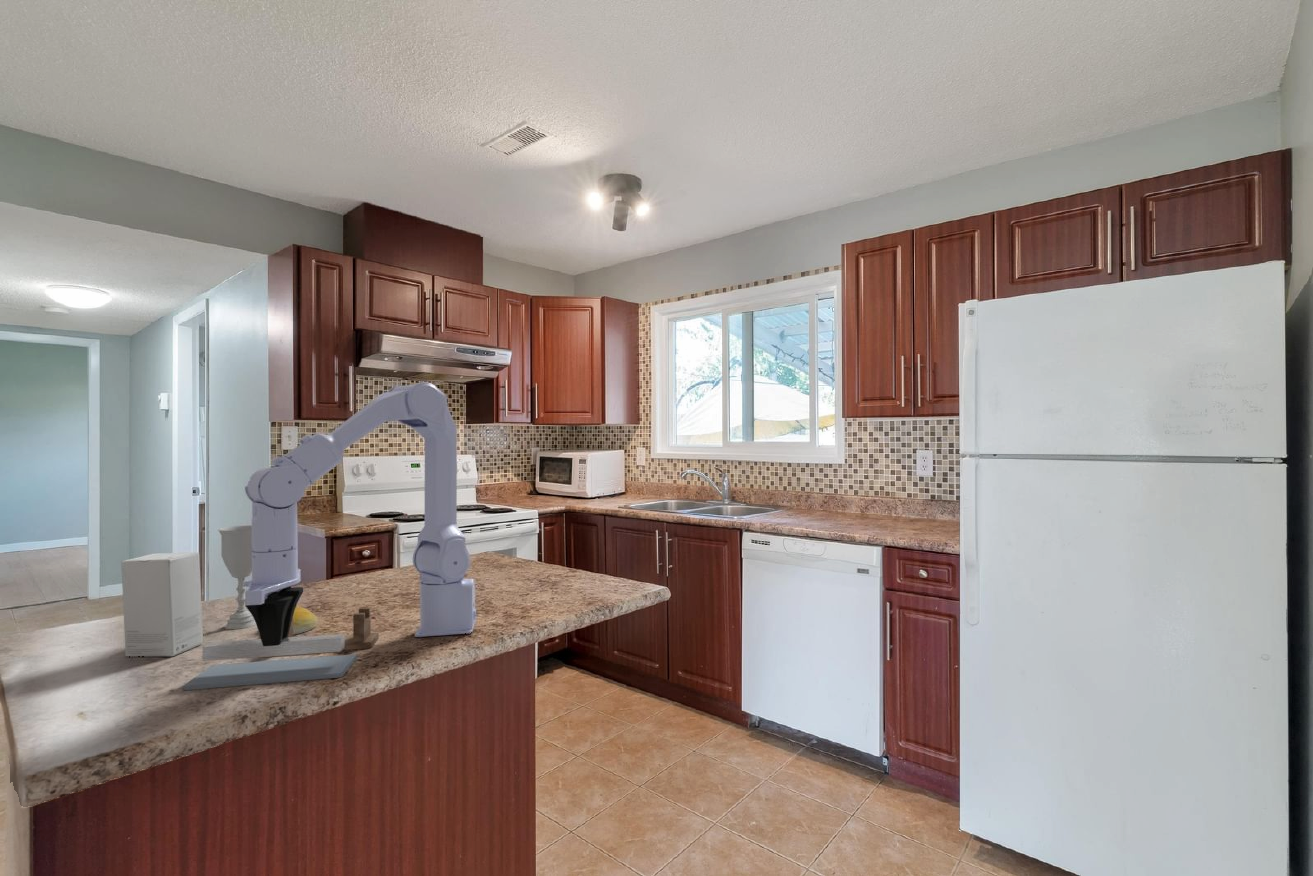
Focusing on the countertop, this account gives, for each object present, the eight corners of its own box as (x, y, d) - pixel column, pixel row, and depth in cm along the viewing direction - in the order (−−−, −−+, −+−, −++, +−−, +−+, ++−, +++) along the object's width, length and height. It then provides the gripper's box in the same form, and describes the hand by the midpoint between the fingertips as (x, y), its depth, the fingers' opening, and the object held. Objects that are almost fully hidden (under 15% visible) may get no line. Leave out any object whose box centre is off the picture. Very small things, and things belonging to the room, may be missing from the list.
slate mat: (357, 658, 95) (357, 654, 95) (341, 677, 87) (341, 673, 87) (212, 669, 91) (212, 665, 91) (182, 690, 83) (182, 686, 83)
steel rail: (344, 647, 92) (344, 633, 92) (340, 651, 90) (340, 637, 90) (209, 656, 88) (209, 642, 88) (202, 661, 86) (202, 646, 86)
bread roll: (269, 641, 104) (269, 618, 104) (260, 629, 111) (260, 607, 111) (323, 631, 110) (322, 608, 110) (311, 620, 116) (311, 599, 116)
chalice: (209, 628, 111) (208, 529, 111) (246, 618, 118) (246, 524, 118) (235, 632, 109) (235, 531, 109) (272, 622, 115) (272, 526, 115)
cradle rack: (378, 638, 104) (378, 606, 105) (371, 648, 100) (371, 614, 100) (275, 645, 101) (275, 612, 101) (262, 656, 96) (262, 621, 96)
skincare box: (204, 644, 102) (203, 551, 102) (170, 658, 96) (169, 559, 96) (156, 644, 103) (156, 551, 103) (120, 658, 96) (119, 559, 96)
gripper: (265, 542, 95) (265, 629, 95) (219, 559, 81) (220, 661, 81) (314, 540, 97) (315, 626, 97) (278, 557, 83) (278, 657, 83)
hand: (275, 642), depth 89 cm, fingers closed on steel rail, 2 cm apart
